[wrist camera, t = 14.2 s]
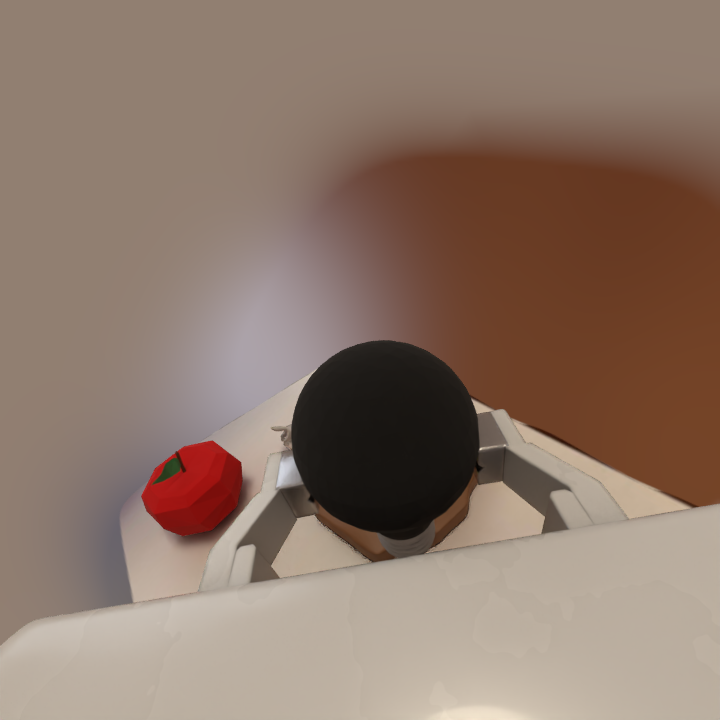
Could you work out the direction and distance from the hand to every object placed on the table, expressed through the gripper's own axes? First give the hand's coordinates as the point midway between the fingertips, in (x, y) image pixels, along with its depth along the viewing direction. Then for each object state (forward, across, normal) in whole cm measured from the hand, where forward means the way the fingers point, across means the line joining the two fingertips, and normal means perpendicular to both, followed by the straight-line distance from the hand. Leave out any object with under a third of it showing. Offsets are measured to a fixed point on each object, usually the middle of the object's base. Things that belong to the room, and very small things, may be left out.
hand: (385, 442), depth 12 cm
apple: (+17, +25, +26) cm, 40 cm away
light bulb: (-1, 0, +6) cm, 6 cm away
